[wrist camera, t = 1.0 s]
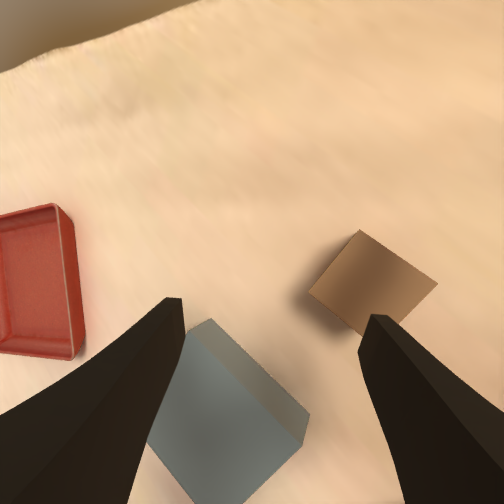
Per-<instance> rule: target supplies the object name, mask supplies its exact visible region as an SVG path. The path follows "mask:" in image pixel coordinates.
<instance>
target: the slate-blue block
mask: <svg viewBox="0 0 504 504" xmlns="http://www.w3.org/2000/svg"><path fill="white" fill-rule="evenodd" d="M309 416H310V414H309V413H308V412H307V411H306V410H305V409H304V408H303V407H302V406H301V405H300V404H299V403H298V402H297V401H296V400H295V399H294V398H293V397H292V396H291V395H290V394H289V393H288V392H287V391H286V390H285V389H284V388H283V387H281V386H280V385H279V384H278V383H277V382H276V381H275V380H274V379H273V378H272V377H271V376H270V375H269V374H268V373H267V372H266V371H265V370H264V369H263V368H262V367H261V366H260V365H259V364H258V363H257V362H256V361H255V360H254V359H253V358H252V357H251V356H250V355H249V354H248V353H247V352H246V351H244V350H243V349H242V348H241V347H240V346H239V345H238V344H237V343H236V342H235V341H234V340H233V339H232V338H231V337H230V336H229V335H228V334H227V333H226V332H225V331H224V330H223V329H222V328H221V327H220V326H219V325H218V324H217V323H216V322H215V321H214V320H213V319H212V318H211V319H209V320H207V321H205V322H203V323H202V324H200V325H198V326H196V327H195V328H193V329H191V330H189V331H188V333H187V334H186V337H185V341H184V345H183V348H182V352H181V355H180V359H179V362H178V365H177V367H176V370H175V372H174V374H173V377H172V379H171V382H170V384H169V386H168V389H167V391H166V394H165V396H164V398H163V401H162V403H161V406H160V408H159V410H158V413H157V415H156V418H155V420H154V422H153V425H152V428H151V430H150V433H149V436H148V438H147V441H146V442H147V443H148V445H149V446H150V447H151V448H152V450H153V451H154V452H155V453H156V455H157V456H158V457H159V459H160V460H161V461H162V462H163V464H164V465H165V466H166V467H167V469H168V470H169V471H170V473H171V474H172V475H173V476H174V478H175V479H176V480H177V481H178V483H179V484H180V485H181V487H182V488H183V489H184V490H185V492H186V493H187V494H188V495H189V497H190V498H191V499H192V501H193V502H194V503H195V504H243V503H244V502H245V501H246V500H247V499H248V498H249V497H250V496H251V495H252V494H253V493H254V492H255V491H256V490H257V489H258V488H259V487H260V486H261V485H262V484H263V483H264V482H266V481H267V480H268V479H269V478H270V477H271V476H272V475H273V474H274V473H275V472H276V471H277V470H278V469H279V468H280V467H281V466H282V465H283V464H284V463H285V462H286V461H287V460H288V459H289V458H290V457H291V456H292V455H293V454H294V453H295V452H296V451H297V450H298V449H299V448H301V447H302V445H303V440H304V436H305V432H306V428H307V424H308V420H309Z"/></svg>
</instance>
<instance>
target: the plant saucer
mask: <svg viewBox="0 0 504 504" xmlns="http://www.w3.org/2000/svg"><path fill="white" fill-rule="evenodd" d="M84 336H85V325H84V315H83V307H82V298H81V289H80V279H79V270H78V261H77V252H76V242H75V232H74V225H73V223H72V222H71V220H70V219H69V217H68V216H67V215H66V213H65V212H64V211H63V210H62V209H61V208H60V207H59V206H58V205H57V204H55V203H49V204H45V205H40V206H36V207H32V208H28V209H24V210H19V211H16V212H11V213H7V214H4V215H0V353H3V354H12V355H22V356H30V357H40V358H47V359H56V360H66V361H71V360H73V359H74V358H75V356H76V355H77V353H78V351H79V349H80V347H81V344H82V342H83V339H84Z"/></svg>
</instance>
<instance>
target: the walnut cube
mask: <svg viewBox="0 0 504 504" xmlns="http://www.w3.org/2000/svg"><path fill="white" fill-rule="evenodd" d="M437 284H438V283H437V282H435V281H434V280H432V279H431V278H429V277H428V276H426V275H425V274H424V273H422V272H421V271H419V270H418V269H416V268H415V267H413V266H412V265H410V264H409V263H408V262H406V261H405V260H403V259H402V258H400V257H399V256H397V255H396V254H395V253H393V252H392V251H390V250H389V249H387V248H386V247H384V246H383V245H382V244H380V243H379V242H377V241H376V240H374V239H373V238H371V237H370V236H369V235H367V234H366V233H364V232H363V231H361V230H360V229H359V231H358V232H357V233H356V234H355V235H354V237H353V238H352V239H351V240H350V241H349V243H348V244H347V245H346V246H345V248H344V249H343V250H342V251H341V252H340V254H339V255H338V256H337V257H336V258H335V260H334V261H333V262H332V263H331V265H330V266H329V267H328V268H327V269H326V271H325V272H324V273H323V274H322V275H321V277H320V278H319V279H318V280H317V282H316V283H315V284H314V285H313V286H312V288H311V289H310V290H309V291H308V293H310V294H311V295H312V296H313V297H314V298H316V299H317V300H318V301H319V302H321V303H322V304H323V305H324V306H325V307H327V308H328V309H329V310H330V311H332V312H333V313H334V314H335V315H336V316H338V317H339V318H340V319H341V320H343V321H344V322H345V323H346V324H347V325H349V326H350V327H351V328H352V329H354V330H355V331H356V332H357V333H358V334H360V335H361V336H362V337H363V335H364V332H365V329H366V326H367V323H368V321H369V318H370V315H371V314H381V315H388V316H389V317H390V318H392V319H393V320H394V321H395V322H396V323H397V324H399V323H400V322H401V321H402V320H403V319H404V318H405V317H406V316H407V315H408V314H409V313H410V312H411V311H412V310H413V309H414V308H415V307H416V306H417V305H418V304H419V303H420V302H421V301H422V300H423V299H424V298H425V297H426V296H427V295H428V294H429V293H430V292H431V291H432V289H433V288H434V287H435V286H436V285H437Z"/></svg>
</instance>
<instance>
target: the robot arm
mask: <svg viewBox="0 0 504 504" xmlns="http://www.w3.org/2000/svg"><path fill="white" fill-rule="evenodd" d="M185 337H186V336H185V326H184V317H183V307H182V298H169V297H166V298H165V299H163V300H162V301H161V302H160V303H159V304H157V305H156V306H155V307H154V308H153V309H152V310H151V311H149V312H148V313H147V314H146V315H145V316H144V317H143V318H141V319H140V320H139V321H138V322H137V323H136V324H134V325H133V326H132V327H131V328H130V329H128V330H127V331H126V332H125V333H124V334H122V335H121V336H120V337H119V338H117V339H116V340H115V341H114V342H112V343H111V344H110V345H108V346H107V347H106V348H104V349H103V350H102V351H101V352H99V353H98V354H97V355H95V356H94V357H93V358H91V359H90V360H88V361H87V362H86V363H84V364H83V365H81V366H80V367H78V368H77V369H75V370H74V371H72V372H71V373H69V374H68V375H66V376H65V377H63V378H62V379H60V380H59V381H57V382H56V383H54V384H52V385H51V386H49V387H47V388H46V389H44V390H42V391H41V392H39V393H37V394H36V395H34V396H32V397H31V398H29V399H27V400H26V401H24V402H22V403H21V404H19V405H17V406H16V407H14V408H12V409H10V410H9V411H7V412H5V413H3V414H1V415H0V504H127V502H128V499H129V496H130V492H131V489H132V486H133V483H134V479H135V476H136V473H137V469H138V466H139V463H140V460H141V457H142V454H143V451H144V448H145V445H146V441H147V438H148V436H149V433H150V430H151V428H152V425H153V422H154V420H155V418H156V415H157V413H158V410H159V408H160V406H161V403H162V401H163V398H164V396H165V394H166V391H167V389H168V386H169V384H170V382H171V379H172V377H173V374H174V372H175V370H176V367H177V365H178V362H179V359H180V355H181V352H182V348H183V345H184V341H185ZM358 356H359V361H360V365H361V369H362V373H363V377H364V381H365V384H366V386H367V389H368V392H369V395H370V397H371V400H372V403H373V406H374V408H375V411H376V414H377V416H378V419H379V422H380V424H381V427H382V430H383V432H384V435H385V438H386V441H387V443H388V446H389V449H390V452H391V455H392V458H393V461H394V464H395V468H396V472H397V475H398V479H399V483H400V486H401V490H402V493H403V497H404V501H405V504H504V412H502V411H501V410H499V409H498V408H497V407H495V406H494V405H493V404H491V403H490V402H489V401H488V400H486V399H485V398H484V397H482V396H481V395H480V394H478V393H477V392H476V391H475V390H474V389H472V388H471V387H470V386H469V385H467V384H466V383H465V382H464V381H462V380H461V379H460V378H459V377H458V376H456V375H455V374H454V373H453V372H452V371H450V370H449V369H448V368H447V367H446V366H445V365H443V364H442V363H441V362H440V361H439V360H438V359H436V358H435V357H434V356H433V355H432V354H431V353H430V352H429V351H427V350H426V349H425V348H424V347H423V346H422V345H421V344H420V343H418V342H417V341H416V340H415V339H414V338H413V337H412V336H411V335H410V334H409V333H407V332H406V331H405V330H404V329H403V328H402V327H401V326H400V325H399V324H397V323H396V322H395V321H394V320H393V319H392V318H390V317H389V316H388V315H381V314H371V315H370V318H369V321H368V323H367V326H366V329H365V332H364V335H363V338H362V341H361V343H360V346H359V349H358Z"/></svg>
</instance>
